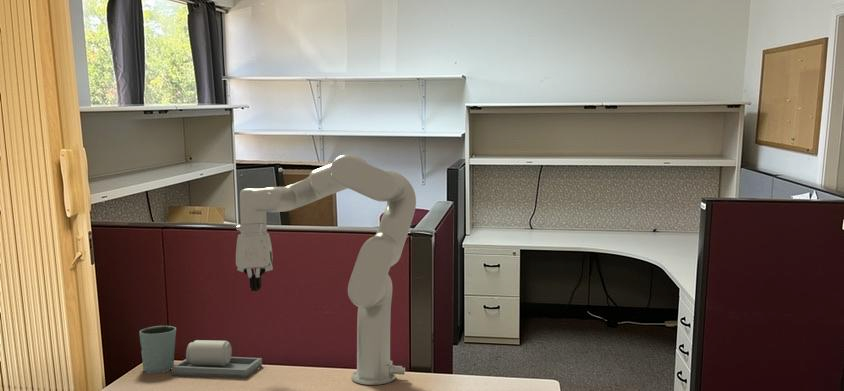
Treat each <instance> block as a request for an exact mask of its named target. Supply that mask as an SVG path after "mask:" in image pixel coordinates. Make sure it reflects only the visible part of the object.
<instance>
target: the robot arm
mask: <svg viewBox="0 0 844 391" xmlns="http://www.w3.org/2000/svg"><path fill="white" fill-rule="evenodd" d="M346 189H350V190H352V191H354V192H355V193H358V194H360V195H363V196H365V197H367V198H370V199H371V200H374V201H377V202H384V203H385V202H386V208H385V209H384V212H383V214H382V216H381V218H380V219H381V220H380V223H379V225H378V227H377V231H376V233H375V235H374V236H371V237H370V238H368V239H366V240H365V242H363V245H362V246H361V247H360V250H359V252H358V255H357V257H356V261H355V263H354V267H353V270H352V272H351V275H350V278H349V280H348V286H347V295H348V299H349V300H350V301H351V303H352V304H353V305H355V306H356V307H357V316H356V317H357V324H356V334H357V335H356V370H355V371H354V372H352V373H351V380H352V381H353V382H355V383H356V384H360V385H368V386H369V385H370V386H374V385H376V386H378V385H384V384H389V383H391V382H393V381H394V380H396V375H404V376H405V375H406V367H403V366H402V365H394V364H393V360H391V314H392V313H391V311H392V310H391V308H392V299H393V281H392V278H391V276H390V275H389V273H390V272H389V271H390V269H391V267H393V266H394V265H395V264H397V263H398V262H399V261H400V259H401V257H402V253H403V249H404V246H405V243H406V240H407V237H408V236H409V235H408V234H409V231H410V228H411V224H412V222H413V218H414V216H415V212H416V206H417V196H416V192H415V190H414V188H413V185H412V184H411V182H410V181H409V180H408V179H407V178H406V177H405V176H404V175H402V174H401V173H399V172H396V171H394V170H393V171H392V170H391V171H390V170H384V169H381V168H379V167H376V166H374V165H372V164H369V163H368V162H367V161H366V160H365V159H364V158H363V157H362V156H359V155H355V154H342V155H339V156H337V157H336V158H335V159H334V160H333V161H332V162H331V163H329V164H326V165H324V166H321V167H319V168H316V169H313V170H312V171H310V173H309V175H308V176H307V177H306V178H304V179H302V180H300V181H297V182H295V183H292V184H289V185H287V186H270V187H264V188H261V187H260V188H256V187H255V188H254V187H253V188H252V187H251V188H244V189H241V190H240V192H239V208H240V224H239V225H237V226H236V227H235V228H236V231H239V233H240V234H238V235H237V239H236V247H235V248H236V249H235V266H236V268H237V269H236V270H237V272H238V271H239V272H242V273H245V275H247V277H248V279H249V288H250V291H251V292H258V291H261V288H262V277H263V275H264V274H265V273H266V272H269V271H273V270H274V268H273V262H274V261H273V260H274V259H273V257H274V256H273V248H272V247H273V245H272V242H271V237H270V233H268V228H267V227H268V226H267V224H268V223H267V213H280V212H290V211H293V210H296V209H298V208H301V207H303V206H307V205H309V204H311V203H314V202H316V201H319V200H322V199H323V198H326V197H328V196H331V195H333V194H337V193H339V192H341V191H344V190H346Z"/></svg>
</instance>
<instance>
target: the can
mask: <svg viewBox="0 0 844 391" xmlns="http://www.w3.org/2000/svg"><path fill="white" fill-rule="evenodd" d="M232 354H233V349H232V345H231V343H230V342H229V341H228V340H214V339H213V340H208V339H206V340H204V339H203V340H202V339H201V340H200V339H196V340H194V341H193V342H192V341H191V342H189V343H188V344H187V347H186V350H185V359H186V360H187V362H188V363H191V364H192V365H193V366H226V365H227V364H228V363H229V362H230V360H231V357H233V356H232Z"/></svg>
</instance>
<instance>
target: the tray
mask: <svg viewBox="0 0 844 391" xmlns="http://www.w3.org/2000/svg"><path fill="white" fill-rule="evenodd" d="M261 365H262V366H263V358H262V357H244V356H243V357H241V356H231V360H230V362H229V363H228V364H227V365H226V366H193V365H192V364H191V363H188V362H187V360H186V358H185V359H183V360H181V361H180V362H177V363H176V364H174V366H172V370H171V376H176V377H198V378H199V377H202V378H217V379H218V378H219V379H221V378H222V379H241V380H243V379H244V380H246V379H248V377H250V376H251V375H253V374H254V373H255V372H256V371H258V370H259V369H260V368H261V367H260V366H261ZM259 367H260V368H259ZM258 368H259V369H258ZM257 369H258V370H257Z"/></svg>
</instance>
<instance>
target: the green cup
mask: <svg viewBox="0 0 844 391" xmlns="http://www.w3.org/2000/svg"><path fill="white" fill-rule="evenodd" d="M138 333H139V342H140V343H139V344H140V347H141V351H140V352H141V358H142V371H143V370H144V371H145V372H144V371H143V372H144V373H146V372H148V373H147V374H159V372H161V373H164V372H163V371H166V372H168V371H167V370H169V369H171V368H172V366H174V365H175V348H176V346H175V345H176V334H177V327H175V326H172V325H156V326H155V325H154V326H149V327H145V328H142V329H140V330H139V332H138Z"/></svg>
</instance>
